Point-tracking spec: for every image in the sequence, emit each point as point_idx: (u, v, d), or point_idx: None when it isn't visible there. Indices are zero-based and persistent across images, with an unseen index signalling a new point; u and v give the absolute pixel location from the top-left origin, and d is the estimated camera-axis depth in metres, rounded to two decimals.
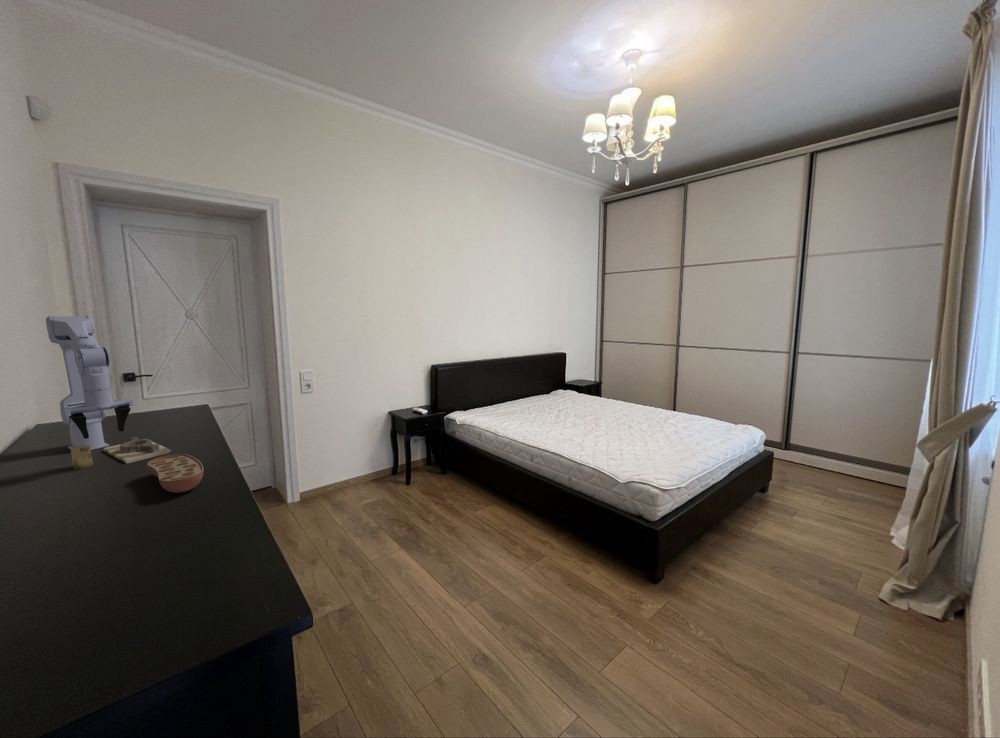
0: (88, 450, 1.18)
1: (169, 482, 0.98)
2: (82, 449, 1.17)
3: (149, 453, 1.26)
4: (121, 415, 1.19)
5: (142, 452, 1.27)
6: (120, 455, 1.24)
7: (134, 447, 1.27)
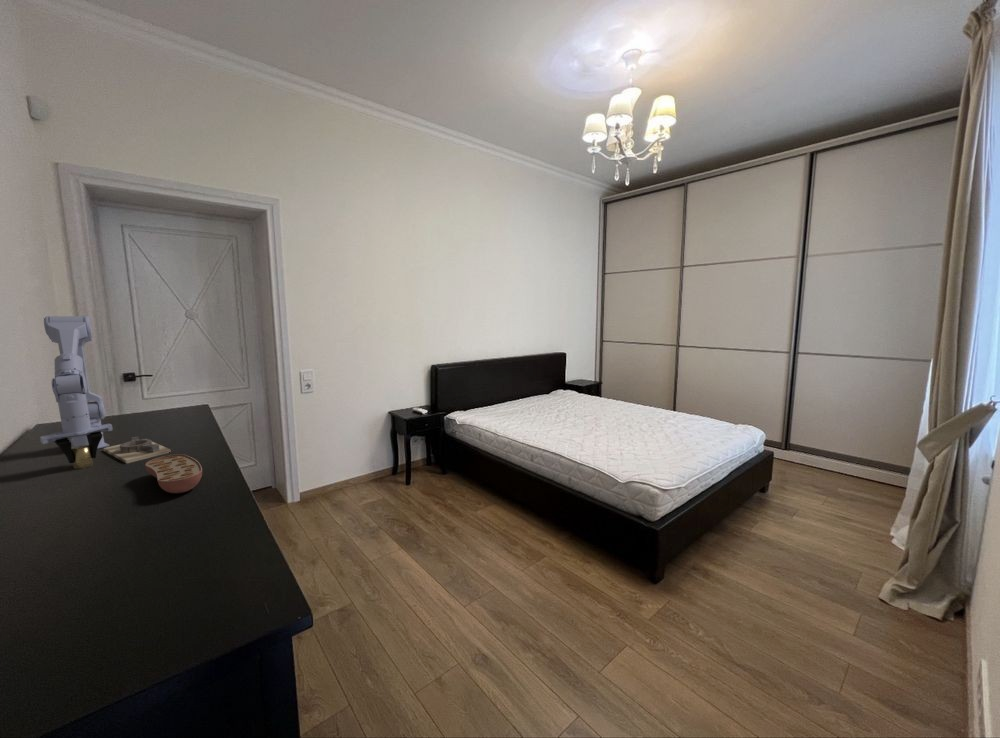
0: (88, 450, 1.18)
1: (168, 482, 0.98)
2: (82, 449, 1.17)
3: (149, 453, 1.26)
4: (92, 442, 1.18)
5: (142, 452, 1.27)
6: (120, 455, 1.24)
7: (134, 447, 1.27)
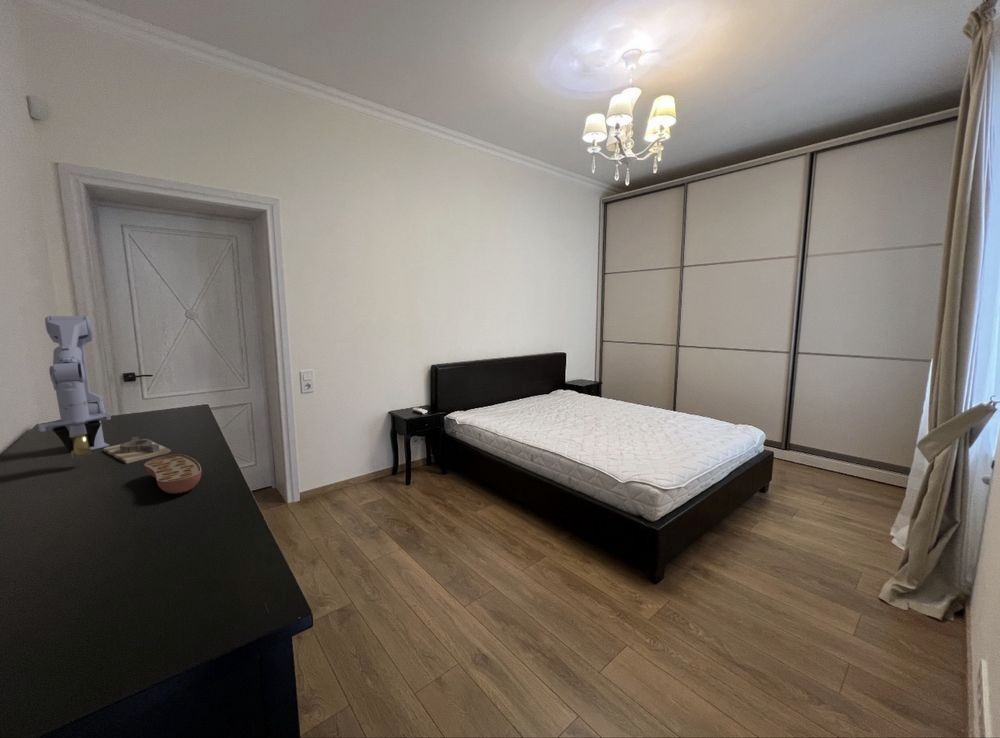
0: (86, 439, 1.18)
1: (167, 483, 0.98)
2: (80, 438, 1.16)
3: (149, 453, 1.26)
4: (91, 430, 1.18)
5: (142, 452, 1.27)
6: (120, 455, 1.24)
7: (134, 447, 1.27)
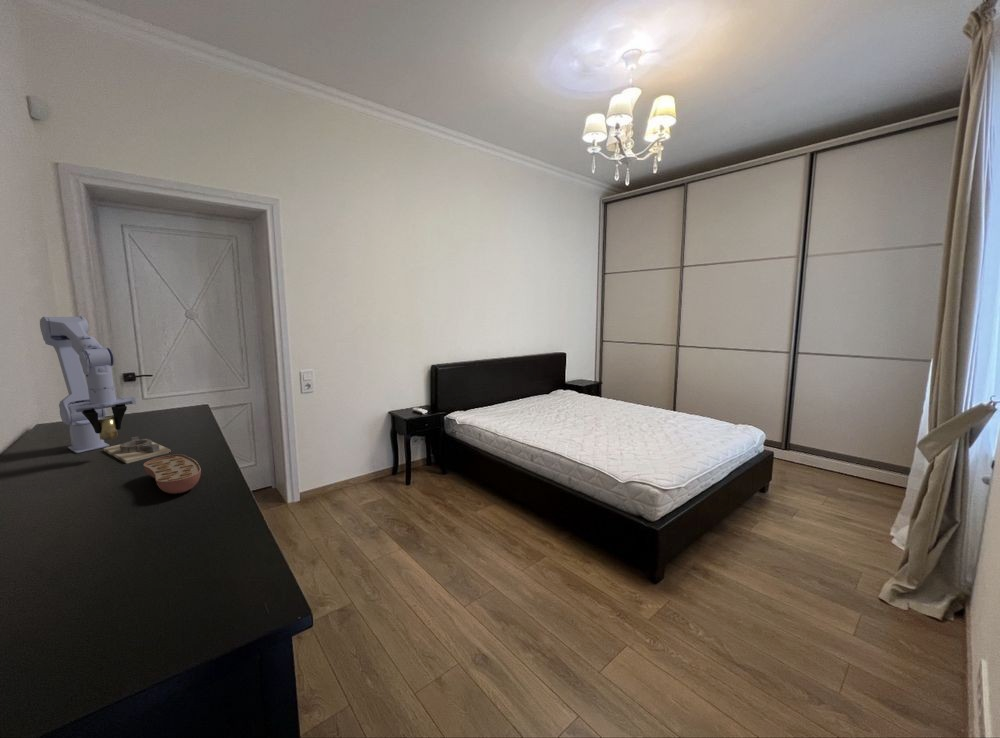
0: (113, 422, 1.23)
1: (166, 483, 0.98)
2: (108, 420, 1.22)
3: (149, 453, 1.26)
4: (118, 414, 1.23)
5: (142, 452, 1.27)
6: (120, 455, 1.24)
7: (134, 447, 1.27)
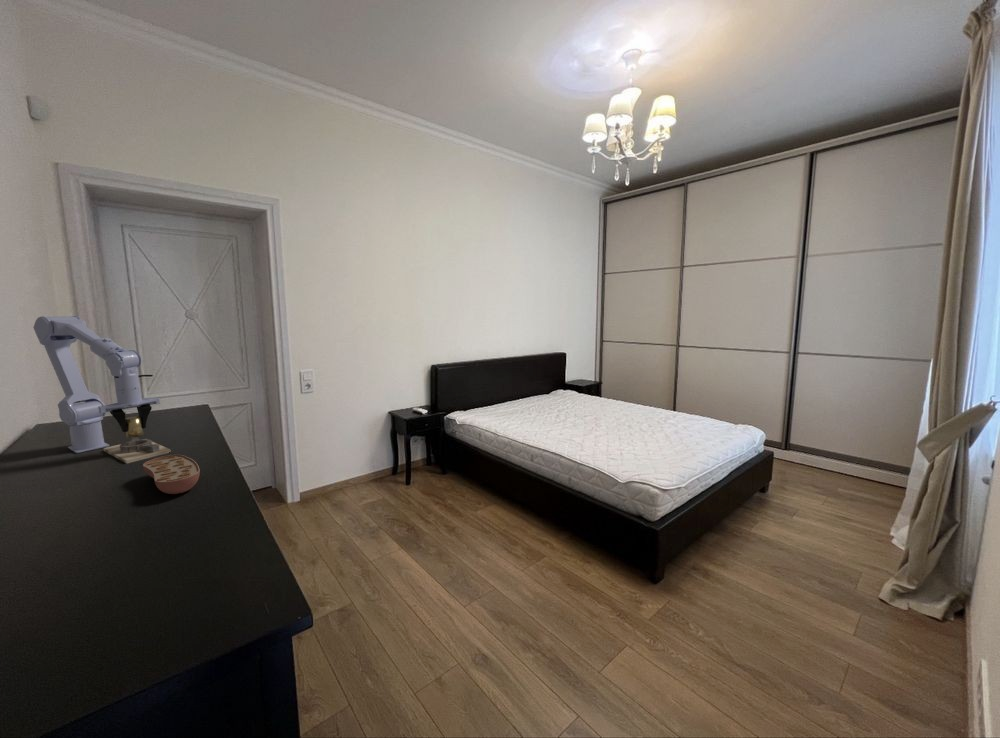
0: (139, 421, 1.29)
1: (165, 483, 0.98)
2: (134, 419, 1.28)
3: (149, 453, 1.26)
4: (143, 413, 1.29)
5: (142, 452, 1.27)
6: (120, 455, 1.24)
7: (134, 447, 1.27)
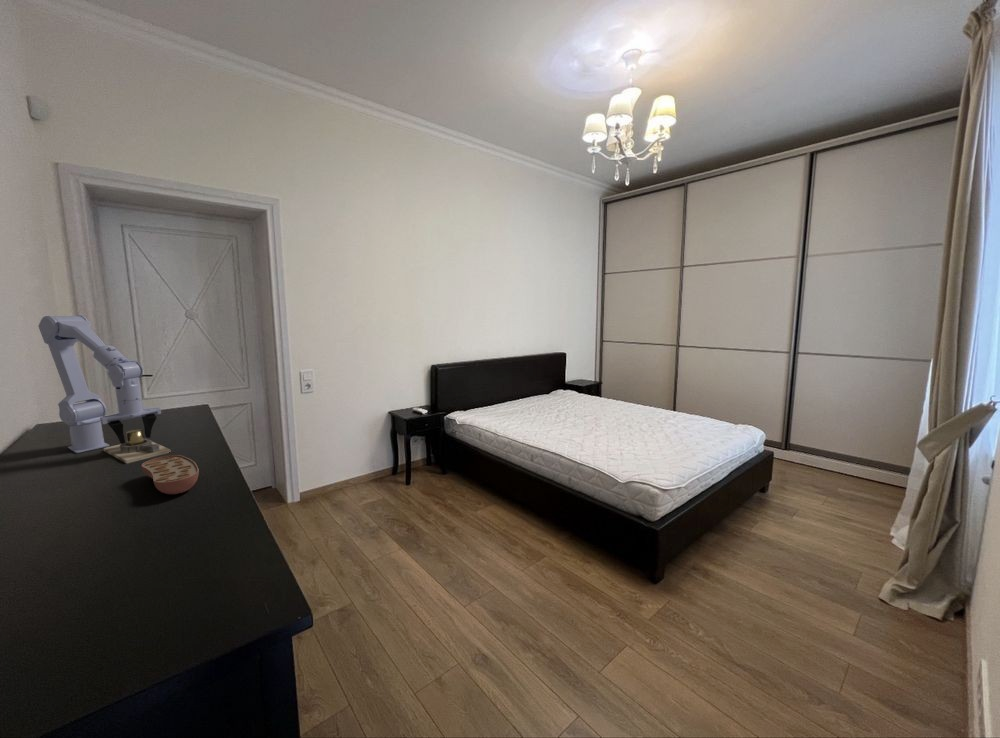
0: (141, 434, 1.30)
1: (164, 483, 0.98)
2: (136, 433, 1.28)
3: (149, 453, 1.26)
4: (148, 423, 1.31)
5: (142, 452, 1.27)
6: (120, 455, 1.24)
7: (134, 447, 1.27)
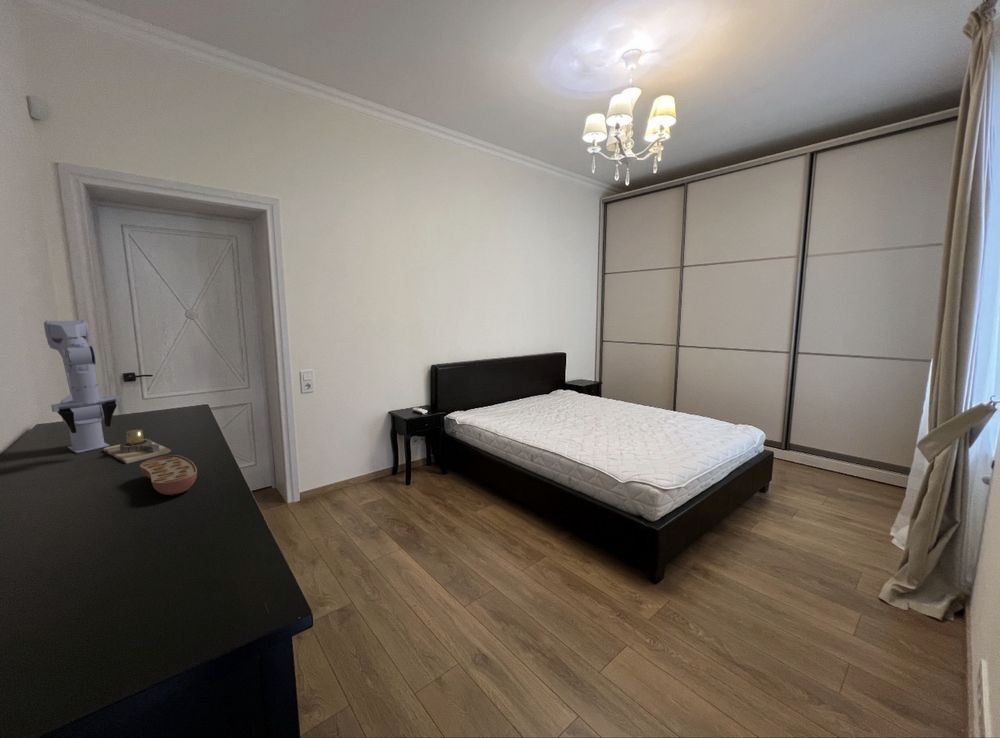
0: (141, 434, 1.30)
1: (162, 484, 0.97)
2: (136, 433, 1.28)
3: (149, 453, 1.26)
4: (107, 411, 1.25)
5: (142, 452, 1.27)
6: (120, 455, 1.24)
7: (134, 447, 1.27)
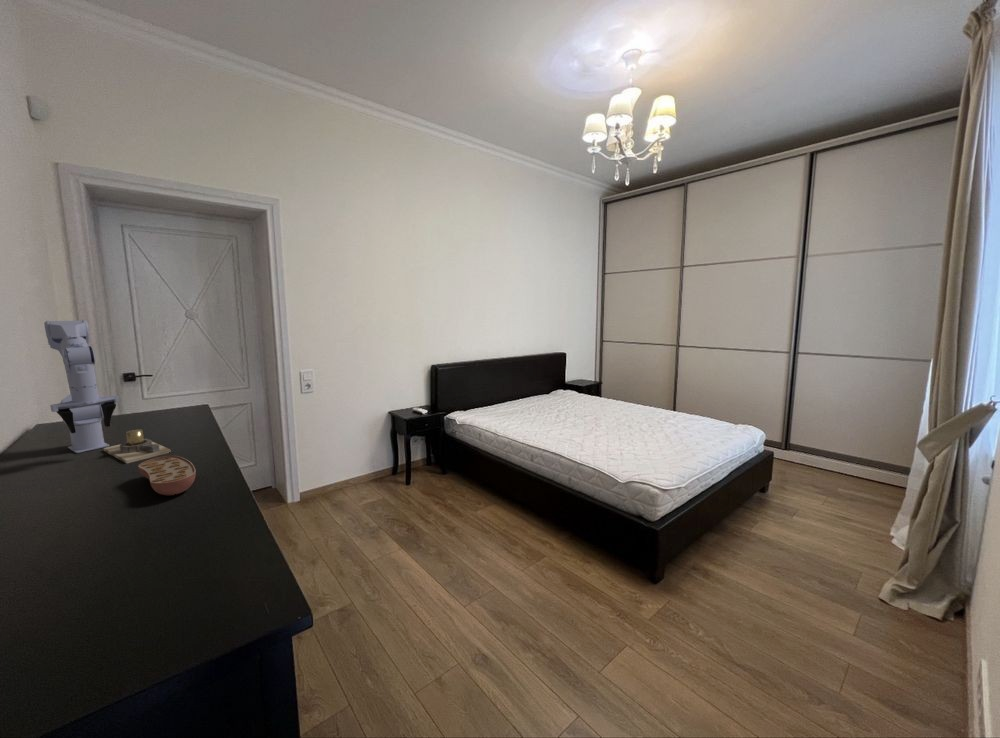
0: (141, 434, 1.30)
1: (160, 484, 0.97)
2: (136, 433, 1.28)
3: (149, 453, 1.26)
4: (107, 411, 1.25)
5: (142, 452, 1.27)
6: (120, 455, 1.24)
7: (134, 447, 1.27)
